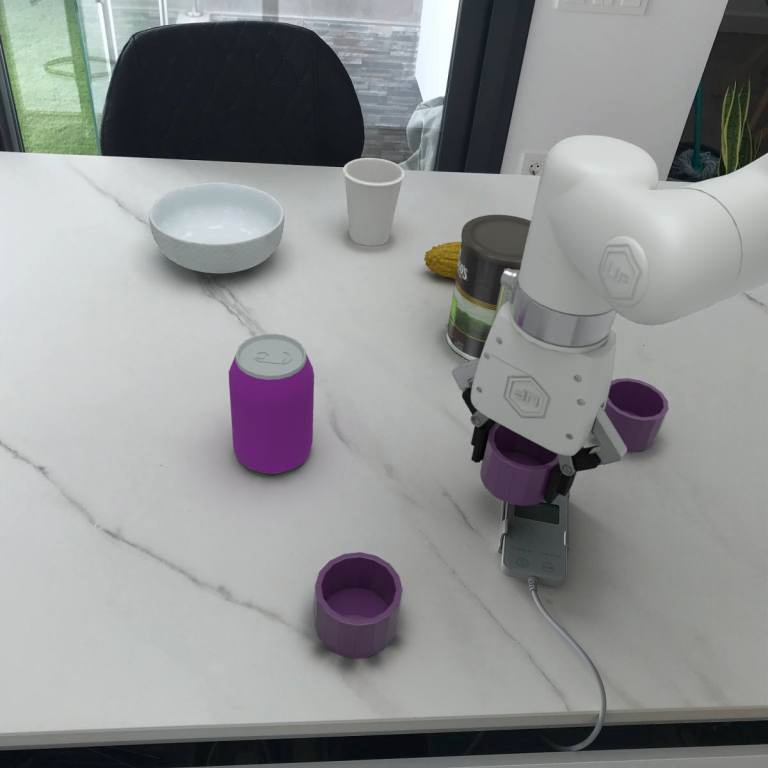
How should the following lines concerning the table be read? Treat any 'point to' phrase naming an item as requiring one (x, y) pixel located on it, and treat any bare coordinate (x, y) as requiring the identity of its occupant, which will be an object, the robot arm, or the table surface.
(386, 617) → the dish near
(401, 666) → the table surface
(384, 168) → the dixie cup
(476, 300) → the coffee can
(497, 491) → the dish middle
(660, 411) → the dish far
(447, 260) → the food
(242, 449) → the beverage can
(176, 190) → the cereal bowl
